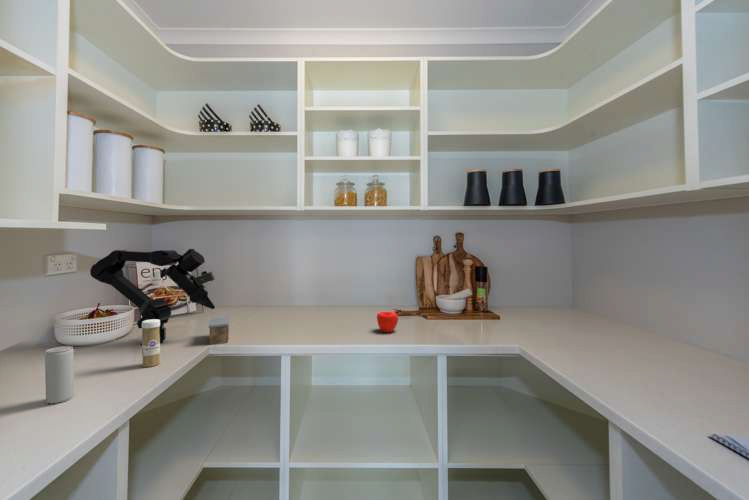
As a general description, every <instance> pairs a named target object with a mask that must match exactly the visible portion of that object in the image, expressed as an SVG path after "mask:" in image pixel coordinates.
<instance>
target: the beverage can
mask: <svg viewBox="0 0 749 500" xmlns="http://www.w3.org/2000/svg"><path fill="white" fill-rule="evenodd" d="M73 347H74V346H72V345H63V346H62V345H61V346H57V347H52V348H49V349H46V350H45V354H44V371H45V372H44V374H45V402H46V403H47V404H48V403H58V404H60V403H59V402H62V403H64V402H63V401H65V402H67V401H69V399H70V400H71V399H72V398H73V397H74V396H75V353H74V352H75V349H74V348H73ZM66 400H67V401H66Z"/></svg>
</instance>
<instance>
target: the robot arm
mask: <svg viewBox="0 0 749 500" xmlns="http://www.w3.org/2000/svg"><path fill="white" fill-rule="evenodd" d="M126 262H137V263H138V262H139V263H140V262H142V263H149V264H151V265H154V266H158V267H167V266H168V267H167V268H163V269H161V270H160V279H163V278H164V277H166V276H167V277H168V279H170V280H171V281H172V282H173V283H175V284H176V286H178V288H179V289H181V290H182V292H184V293H185V294H186V296H188V297H189V298H188V299H189V301H190V302H191V303H193V304H195V303H196V304H198V305H201V306H203V307H206V308H209V309H210V310H214V309H215V308H216V306H215V305H214V303H213V302H212V300H211V299H210V297H209V296H208V294H209V290H208V289H207V288H206V286H205V284H206V283H208V282H212V281H215V279H216V278H215V276H214V274H213V272H212V271H206V270H204V271H201V272H200V273H201V274H200V275H197V276H194V275H193V274H191V273H193V271H195V270H197V269H198V268H199V267H201V266H202V265H203V264H204V263H205V257H204V256H203V255H202V254H201V253H199V252H198V251H196V250H195V249H194V248H189V249H188V250H187V251H186V252H185V253H183V254H179V253H178V252H177V251H176V250H174V249H166V250H165V249H161V250H153V251H139V250H138V251H137V250H127V249H115V250H113V251H111V252H110V253H109V254H108V255H106V256H105V257H103V258H101V259H99V260H97V262H96V263H94V264H92V266H91V268H90V270H89V273H90V276H91V277H92V278H93V279H94V280H95V281H97V282H98V281H99V283H104V284H106V285H109V286H111V287H113V288H114V289H115V290H117V292H119V293H120V294H122V295H123V297H125V298H126V299H127V300H129V302H131V303H132V304H133V305H134V306H135V307H137V308H139V313H140V316H141V318H140V319H138V321H137V322H136V324H137V325H136V326H137V328H138V329H142V321H145V320H150V319H159V320H160V327H159V334H160V344H162V343H164V341H165V340H166V338H167V328H166V327H165V324H167V323H168V322H169V319H170V317H171V315H172V308H171V307H170V306H169V305H170V304H169V303H167V302H166V301H164V299H163V298H155V299H153V298H151V297H150V296H149V295H147V294H146V293H145V292H143V290H141V289H140V288H139V287H137V285H135V284H134V283H133V282H131V281H130V280H129V279H128V278H126V277H125V274H124V270H123V269H124V268H125V266H126V264H127V263H126ZM140 346H142V342H141V343H140Z"/></svg>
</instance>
